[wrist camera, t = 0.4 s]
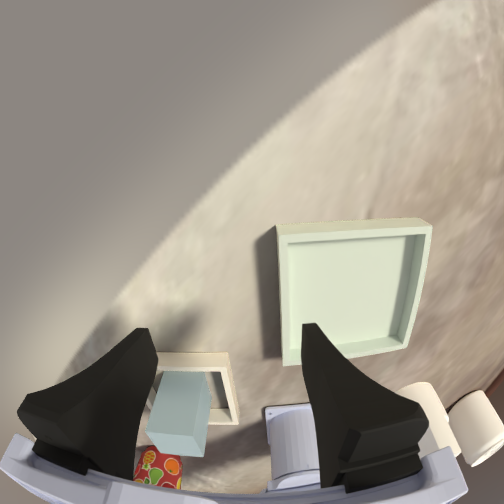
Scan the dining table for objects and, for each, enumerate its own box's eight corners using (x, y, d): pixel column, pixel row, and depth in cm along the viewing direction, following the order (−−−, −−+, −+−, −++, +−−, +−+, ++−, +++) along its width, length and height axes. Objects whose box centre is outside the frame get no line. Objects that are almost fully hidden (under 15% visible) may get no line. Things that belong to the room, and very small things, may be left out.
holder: (239, 411, 29) (238, 424, 28) (159, 408, 30) (155, 420, 28) (227, 351, 26) (226, 366, 24) (132, 350, 26) (126, 363, 24)
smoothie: (146, 458, 37) (125, 550, 19) (132, 437, 34) (103, 542, 15) (192, 466, 37) (179, 563, 19) (184, 446, 34) (165, 560, 15)
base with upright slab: (391, 385, 28) (424, 464, 17) (443, 378, 29) (478, 443, 18) (364, 425, 32) (384, 495, 21) (414, 417, 32) (438, 478, 21)
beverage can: (439, 424, 34) (461, 474, 23) (453, 398, 31) (482, 453, 20) (472, 408, 34) (495, 453, 23) (487, 381, 31) (517, 429, 19)
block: (211, 397, 29) (203, 457, 21) (174, 396, 29) (160, 452, 21) (204, 371, 27) (192, 436, 20) (164, 370, 27) (145, 431, 20)
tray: (397, 333, 25) (406, 347, 23) (281, 349, 25) (282, 366, 23) (418, 217, 20) (432, 226, 18) (275, 224, 21) (278, 235, 19)
